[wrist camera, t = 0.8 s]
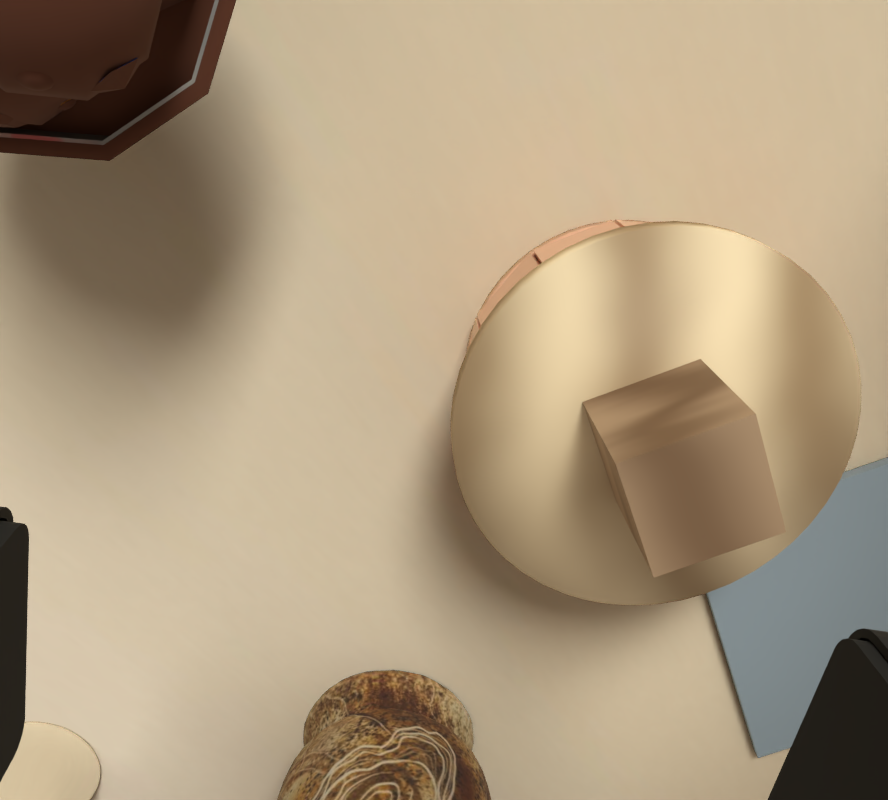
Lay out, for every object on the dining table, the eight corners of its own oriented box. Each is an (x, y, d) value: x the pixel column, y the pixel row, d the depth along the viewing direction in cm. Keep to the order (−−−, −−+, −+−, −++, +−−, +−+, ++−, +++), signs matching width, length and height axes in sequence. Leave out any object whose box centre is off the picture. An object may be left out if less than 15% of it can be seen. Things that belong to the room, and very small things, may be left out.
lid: (791, 152, 30) (901, 178, 23) (866, 505, 35) (972, 607, 28) (389, 305, 31) (386, 372, 24) (521, 623, 36) (548, 746, 30)
